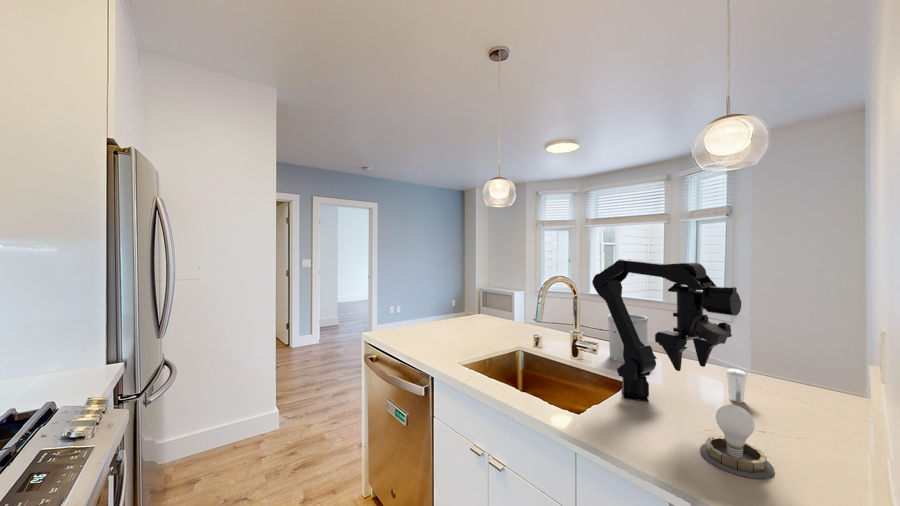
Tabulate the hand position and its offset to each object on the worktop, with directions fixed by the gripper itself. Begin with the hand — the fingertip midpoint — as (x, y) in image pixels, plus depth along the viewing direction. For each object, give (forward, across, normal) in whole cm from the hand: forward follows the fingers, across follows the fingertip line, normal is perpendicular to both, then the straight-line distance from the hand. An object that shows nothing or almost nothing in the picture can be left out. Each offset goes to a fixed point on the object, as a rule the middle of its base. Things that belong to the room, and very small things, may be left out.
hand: (690, 368), depth 91 cm
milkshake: (+13, +22, +2) cm, 26 cm away
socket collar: (+13, -10, -16) cm, 23 cm away
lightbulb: (+13, -10, -16) cm, 23 cm away
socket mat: (+13, -10, -16) cm, 23 cm away
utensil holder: (+13, +25, +44) cm, 53 cm away
